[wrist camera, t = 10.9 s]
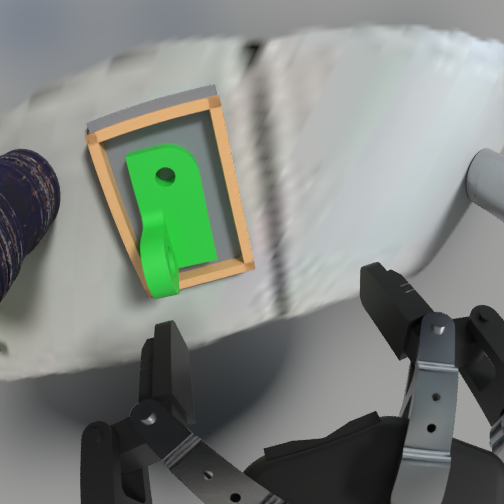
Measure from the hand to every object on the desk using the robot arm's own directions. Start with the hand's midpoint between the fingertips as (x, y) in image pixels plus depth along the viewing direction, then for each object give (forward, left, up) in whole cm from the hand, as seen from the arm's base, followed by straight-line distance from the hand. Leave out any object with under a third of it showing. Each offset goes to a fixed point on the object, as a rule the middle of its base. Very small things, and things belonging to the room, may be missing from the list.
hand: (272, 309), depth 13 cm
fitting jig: (+4, +2, -20) cm, 21 cm away
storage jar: (+20, -4, -20) cm, 29 cm away
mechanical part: (+5, +2, -19) cm, 20 cm away
